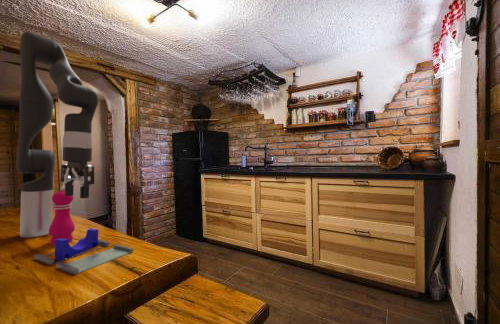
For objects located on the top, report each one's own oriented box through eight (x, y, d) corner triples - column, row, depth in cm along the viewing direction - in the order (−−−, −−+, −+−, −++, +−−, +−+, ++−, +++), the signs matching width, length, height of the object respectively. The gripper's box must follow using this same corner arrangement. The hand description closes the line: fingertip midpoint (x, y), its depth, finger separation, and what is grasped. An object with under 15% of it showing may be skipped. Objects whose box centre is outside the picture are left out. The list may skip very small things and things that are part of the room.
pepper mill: (43, 243, 80) (45, 186, 80) (66, 237, 86) (68, 184, 86) (56, 246, 77) (57, 187, 77) (79, 240, 84) (80, 186, 84)
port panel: (34, 259, 67) (34, 254, 67) (94, 241, 83) (94, 238, 83) (74, 274, 58) (74, 270, 58) (132, 252, 74) (133, 248, 74)
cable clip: (87, 245, 79) (87, 228, 79) (97, 246, 78) (98, 229, 78) (50, 259, 67) (51, 239, 68) (62, 261, 67) (63, 240, 67)
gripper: (51, 146, 73) (50, 196, 73) (77, 145, 67) (76, 200, 67) (77, 147, 80) (76, 194, 80) (103, 147, 74) (102, 197, 74)
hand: (76, 197), depth 73 cm, fingers open, 8 cm apart
